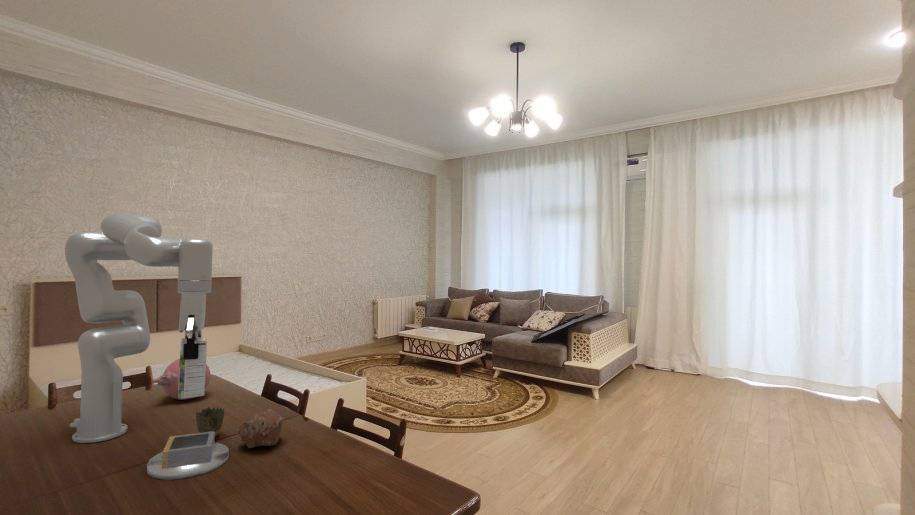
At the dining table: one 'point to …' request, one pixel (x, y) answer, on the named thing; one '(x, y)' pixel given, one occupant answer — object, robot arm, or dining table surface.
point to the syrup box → (192, 372)
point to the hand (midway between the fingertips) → (192, 355)
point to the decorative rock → (261, 429)
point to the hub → (188, 457)
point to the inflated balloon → (175, 380)
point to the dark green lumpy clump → (210, 420)
